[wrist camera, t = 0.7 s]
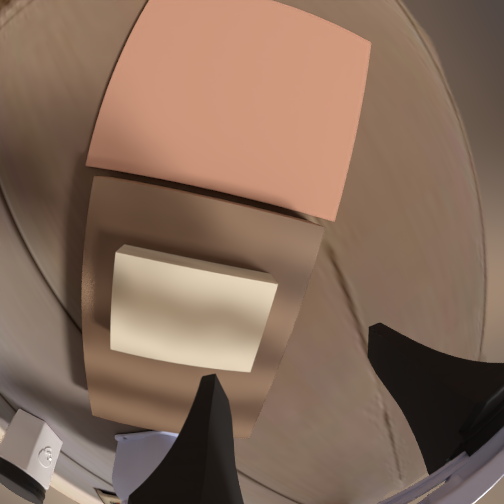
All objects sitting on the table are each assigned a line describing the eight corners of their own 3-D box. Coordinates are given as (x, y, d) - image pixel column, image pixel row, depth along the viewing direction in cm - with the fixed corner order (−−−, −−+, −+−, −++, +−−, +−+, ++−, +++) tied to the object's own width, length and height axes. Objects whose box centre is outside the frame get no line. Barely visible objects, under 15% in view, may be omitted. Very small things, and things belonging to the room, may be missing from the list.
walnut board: (243, 418, 26) (248, 438, 23) (98, 396, 22) (92, 415, 19) (309, 221, 21) (325, 227, 19) (108, 176, 18) (93, 176, 15)
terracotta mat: (332, 220, 22) (334, 221, 21) (87, 165, 17) (85, 165, 17) (369, 44, 18) (371, 42, 18) (161, -16, 13) (160, -19, 13)
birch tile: (245, 356, 20) (250, 372, 18) (117, 334, 18) (110, 349, 16) (270, 273, 19) (278, 284, 17) (124, 244, 16) (115, 252, 15)
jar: (72, 450, 24) (56, 512, 13) (37, 444, 23) (18, 497, 12) (37, 409, 22) (9, 475, 10) (4, 405, 21) (-25, 459, 9)
